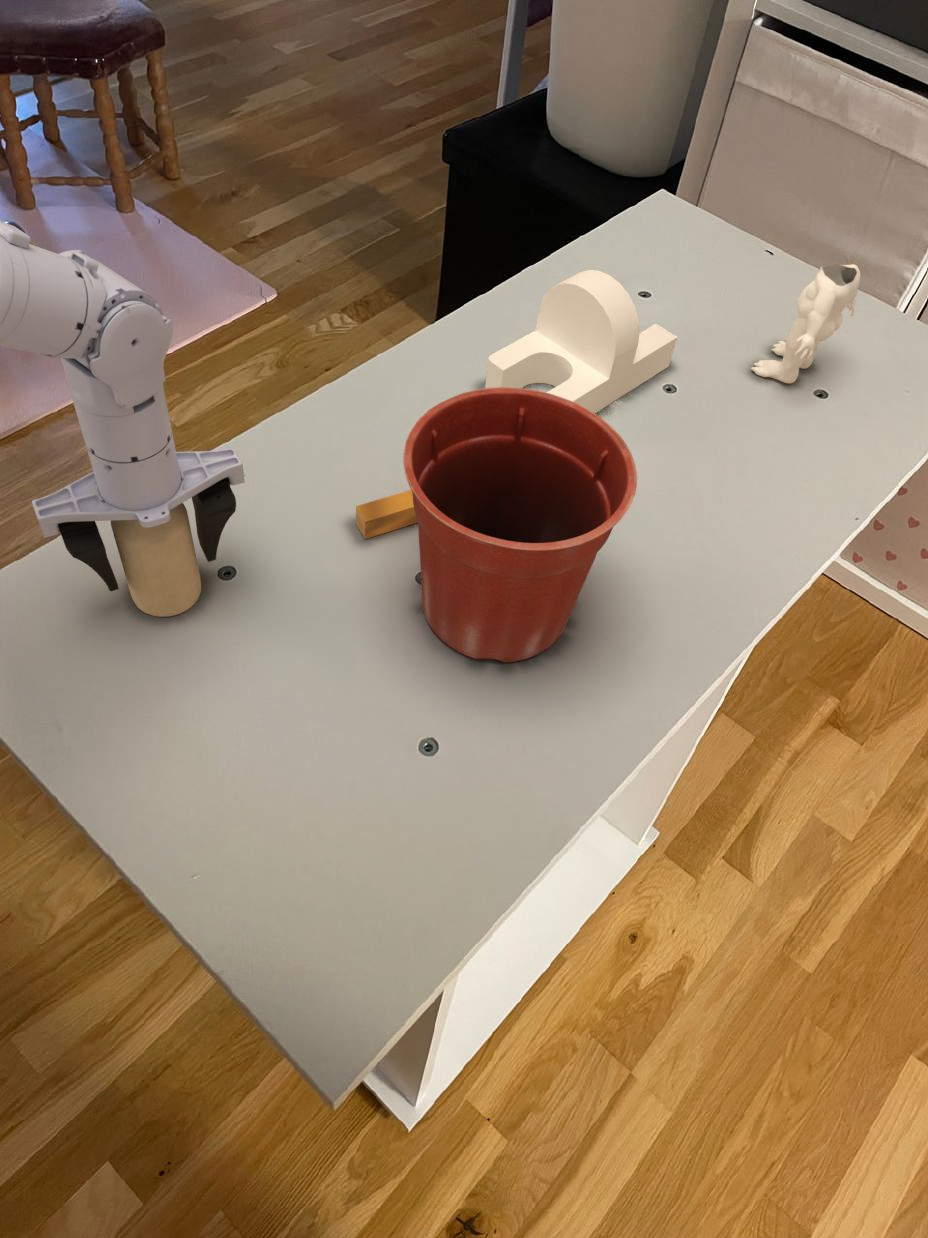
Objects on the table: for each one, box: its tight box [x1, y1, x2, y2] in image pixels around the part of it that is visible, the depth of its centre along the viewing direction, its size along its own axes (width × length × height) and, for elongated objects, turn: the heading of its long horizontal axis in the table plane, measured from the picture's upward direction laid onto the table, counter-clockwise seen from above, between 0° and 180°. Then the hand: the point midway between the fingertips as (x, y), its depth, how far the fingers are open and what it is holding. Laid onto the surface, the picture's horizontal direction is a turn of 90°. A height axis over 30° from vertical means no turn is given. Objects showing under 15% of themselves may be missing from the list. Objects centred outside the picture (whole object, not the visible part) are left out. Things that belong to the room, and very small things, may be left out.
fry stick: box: [355, 489, 418, 540], centre depth 87 cm, size 14×2×2 cm, turn 117°
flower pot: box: [402, 387, 638, 663], centre depth 76 cm, size 16×16×16 cm
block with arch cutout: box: [484, 269, 678, 414], centre depth 97 cm, size 18×10×11 cm, turn 134°
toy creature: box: [750, 263, 861, 384], centre depth 100 cm, size 12×6×12 cm, turn 141°
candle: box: [110, 502, 202, 618], centre depth 76 cm, size 6×6×10 cm
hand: (160, 566), depth 77 cm, fingers open, 7 cm apart
